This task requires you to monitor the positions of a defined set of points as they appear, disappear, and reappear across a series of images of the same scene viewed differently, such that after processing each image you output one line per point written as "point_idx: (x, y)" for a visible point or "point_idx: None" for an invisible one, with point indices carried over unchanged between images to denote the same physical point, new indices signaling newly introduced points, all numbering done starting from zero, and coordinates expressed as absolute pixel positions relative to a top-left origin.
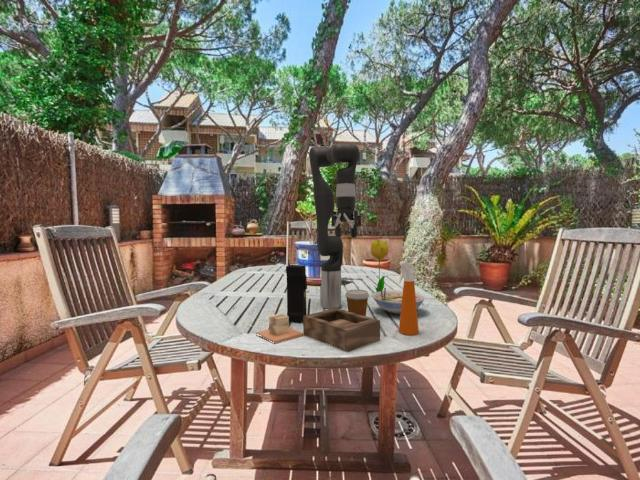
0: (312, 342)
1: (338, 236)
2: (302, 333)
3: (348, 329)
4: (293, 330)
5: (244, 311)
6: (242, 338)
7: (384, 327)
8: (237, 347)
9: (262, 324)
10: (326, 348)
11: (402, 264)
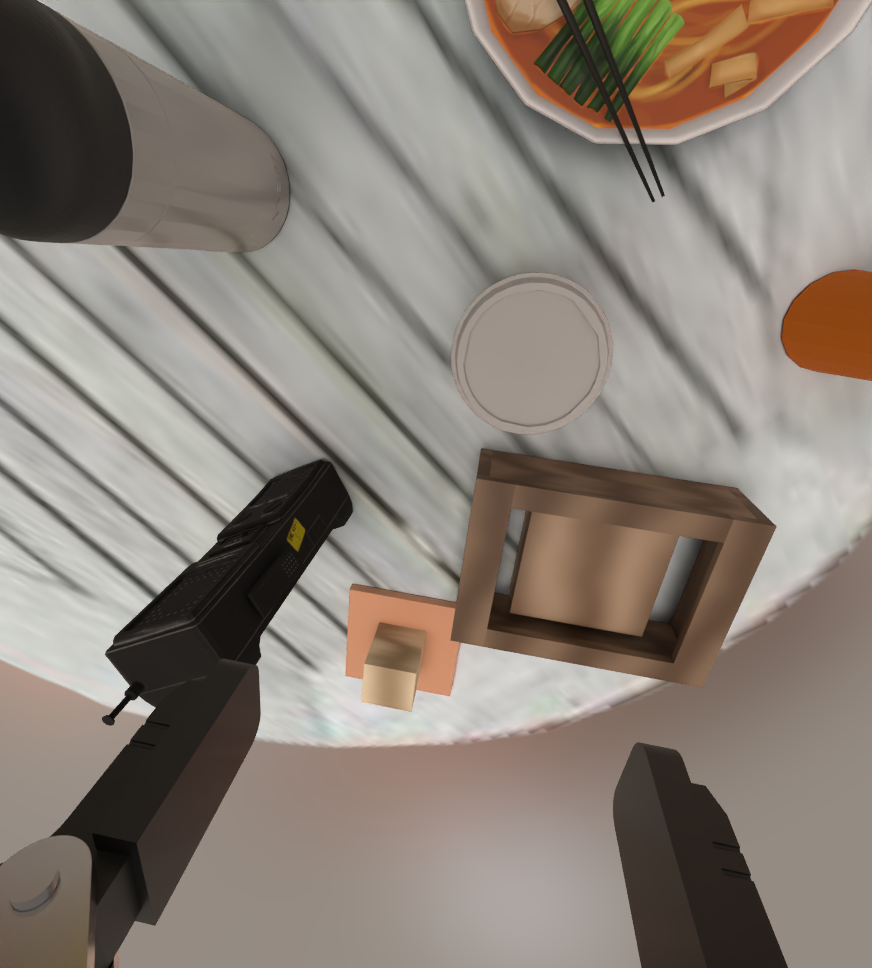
0: None
1: (253, 710)
2: None
3: (702, 677)
4: (419, 607)
5: (71, 526)
6: (343, 701)
7: (691, 333)
8: (394, 743)
9: None
10: None
11: None
